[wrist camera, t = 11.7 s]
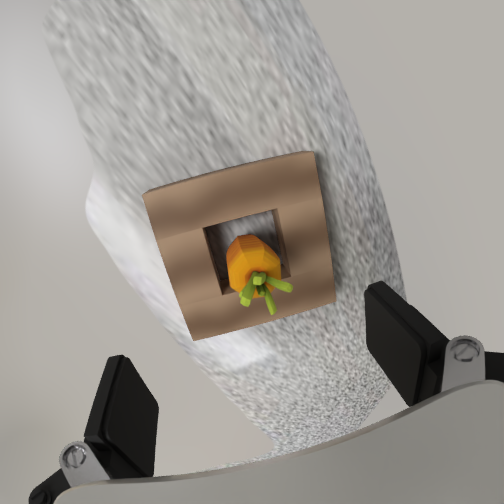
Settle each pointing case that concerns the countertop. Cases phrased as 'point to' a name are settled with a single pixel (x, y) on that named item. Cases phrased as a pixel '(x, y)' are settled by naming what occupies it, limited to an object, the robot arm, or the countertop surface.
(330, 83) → the countertop surface
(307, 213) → the socket block
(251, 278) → the carrot
